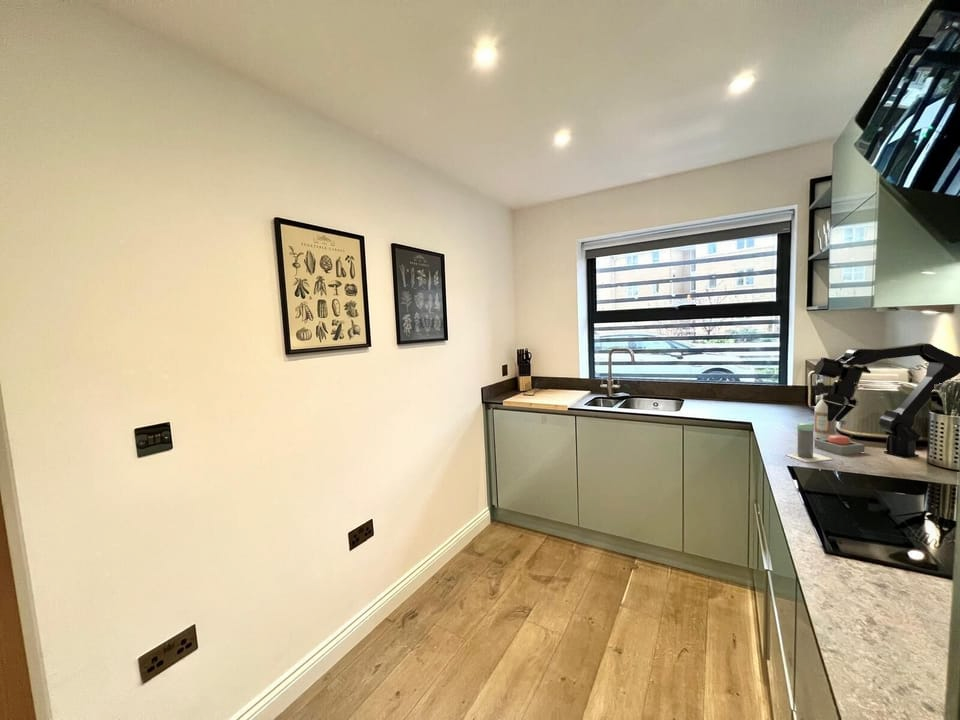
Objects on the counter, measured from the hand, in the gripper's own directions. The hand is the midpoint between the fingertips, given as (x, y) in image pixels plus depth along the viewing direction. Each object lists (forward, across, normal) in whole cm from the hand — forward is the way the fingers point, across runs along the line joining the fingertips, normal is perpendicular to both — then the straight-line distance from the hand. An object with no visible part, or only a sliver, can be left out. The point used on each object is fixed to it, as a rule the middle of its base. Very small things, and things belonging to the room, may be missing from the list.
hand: (833, 421), depth 148 cm
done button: (+9, -6, +3) cm, 11 cm away
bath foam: (+10, -21, -5) cm, 24 cm away
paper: (+14, +12, 0) cm, 19 cm away
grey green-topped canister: (+14, +13, -1) cm, 19 cm away
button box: (+10, -6, +3) cm, 12 cm away
